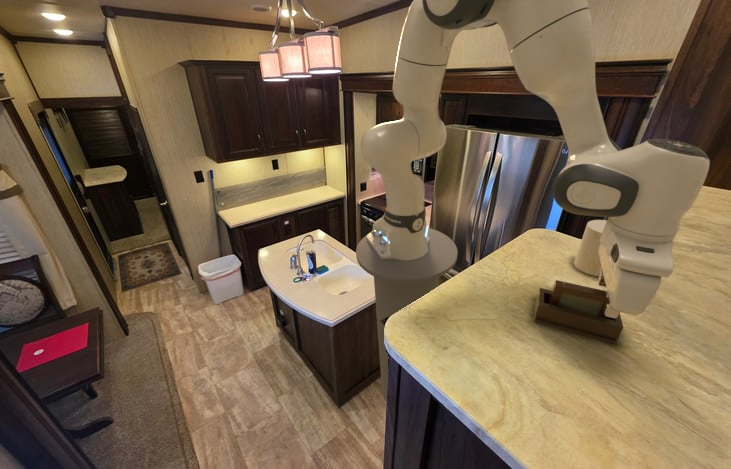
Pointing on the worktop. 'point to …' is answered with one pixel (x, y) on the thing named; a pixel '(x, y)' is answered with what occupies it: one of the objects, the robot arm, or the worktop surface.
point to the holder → (576, 320)
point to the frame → (579, 298)
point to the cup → (590, 248)
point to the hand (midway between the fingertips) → (606, 298)
